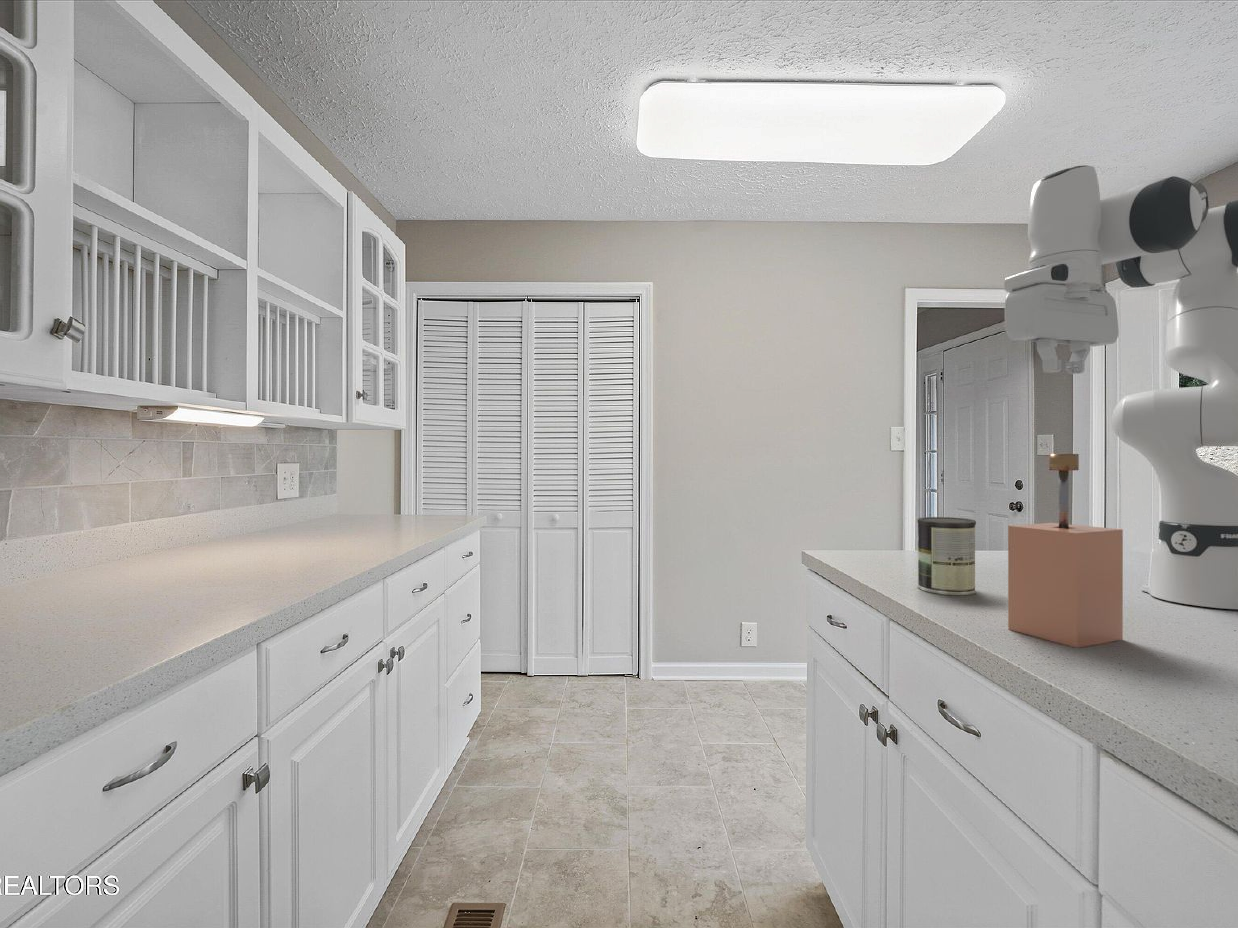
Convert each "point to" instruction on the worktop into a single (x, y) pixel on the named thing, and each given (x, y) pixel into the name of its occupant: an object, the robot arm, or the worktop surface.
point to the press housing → (1066, 583)
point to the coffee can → (946, 555)
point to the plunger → (1064, 482)
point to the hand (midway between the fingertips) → (1063, 372)
